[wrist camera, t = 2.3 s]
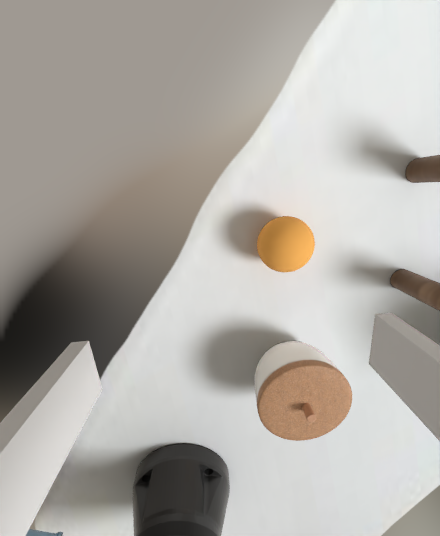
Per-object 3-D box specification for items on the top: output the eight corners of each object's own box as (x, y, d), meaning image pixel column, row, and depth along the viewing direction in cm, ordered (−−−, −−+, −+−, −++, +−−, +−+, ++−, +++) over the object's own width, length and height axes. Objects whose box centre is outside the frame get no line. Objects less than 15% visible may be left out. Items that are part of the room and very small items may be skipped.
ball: (253, 265, 31) (264, 282, 25) (251, 216, 29) (262, 222, 23) (301, 261, 31) (323, 277, 25) (302, 211, 29) (326, 217, 23)
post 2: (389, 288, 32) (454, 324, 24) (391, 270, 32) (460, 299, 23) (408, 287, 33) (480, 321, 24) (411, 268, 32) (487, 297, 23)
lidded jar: (255, 397, 37) (270, 464, 28) (240, 337, 34) (252, 390, 25) (326, 381, 37) (364, 443, 28) (318, 319, 33) (358, 366, 24)
